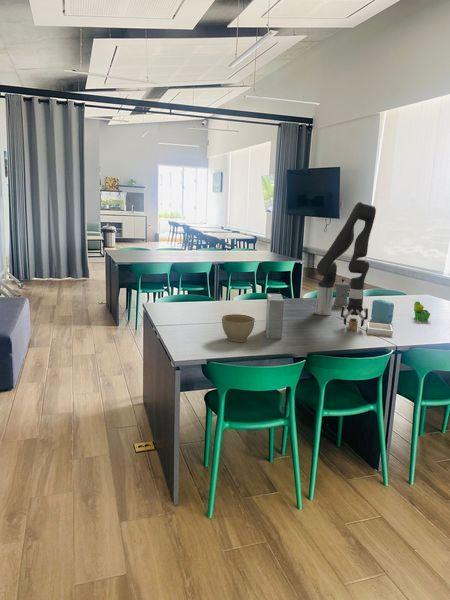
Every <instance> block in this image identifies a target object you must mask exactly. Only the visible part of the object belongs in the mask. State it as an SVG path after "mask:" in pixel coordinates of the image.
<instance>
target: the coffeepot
mask: <svg viewBox="0 0 450 600" xmlns="http://www.w3.org/2000/svg"><path fill="white" fill-rule="evenodd" d="M350 284H351V281H350V282H346V281H345V279H344V278H342V279H341V281H339V282H335V283H334V287H335V293H336V296H335V298H334V301H333V305H334V306H335V307H338V308H339V307H340V308H342V306H345V307H347V306H348V296H347V295H349V291H350Z"/></svg>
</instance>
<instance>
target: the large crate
mask: <svg viewBox="0 0 450 600" xmlns="http://www.w3.org/2000/svg"><path fill="white" fill-rule="evenodd" d="M366 333H367V335H373V336H374V335H375V336H385V337H393V333H394V330H393V325H392V324H390V323H381V322H380V323H378V322H369V321H367V323H366Z"/></svg>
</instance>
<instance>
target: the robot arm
mask: <svg viewBox="0 0 450 600" xmlns="http://www.w3.org/2000/svg"><path fill="white" fill-rule="evenodd" d="M376 209H377V208H376V207H375V206H374V205H372V204H369V203H366V202H363V201H359V202H357V203H356V204H355V205H354V207H353V209H352V211H351V213H350V215H349V216H348V218H347V220H346V221H345V224H344V225H343V227H342V229H341V230H340V231H339V233H338V235H337V236H336V237H335V239H334V240H333V242H332V243H331V246H329V248H328V250H327V251H326V253H325V254H324V255H323V256H322V258H321V259H320V260H319V261H318V263H317V265H316V273H317V274H318V275H319V276H322V277H323V278H321V279H320V280H319V281H318V284H317V294H316V295H317V296H316V297H317V298H316V301H315V302H316V304H315V314H316V315H320V316H330V315H332V307H333V294H334V287H335V285H334V284H336V279H337V278H336V277H337V272H338V269H337V267H338V266H337V263H336V260H337V259H338V258H339V257H340V256H341V257H342V255H343V254H345V253H346V252H347V250H349V248H350V247H351V245H352V244H353V242H354V244H353V245H354V246H353V252H352V253H353V254H352V256H351V259H350V261H349V263H348V271H349V273H352V274H360V276H355V277H351V279H350V282H351V284H350V286H349V289H350V291H349V290H348V293H349V294H348V299H347V302H348V306H347V307H345V306H342V307H341V313H340V318H342V319H343V325H344V326H346V325H347V318H348V317H349V316H350V315H351V316H359V318H360V319H361V320H360V328H362V327H364V324H365V321H367V320H368V318H369V317H368V316H369V308H368V307H365V308H364V307H363V302H364V294H365V293H364V290H365V289H364V286H365V281H366V277H367V274H368V272H369V269H370V264H369V261H367V260H363V259H361V258H365V257H367V255H368V248H369V241H370V236H371V232H372V229H373V225H374V221H375V218H376V213H377V210H376ZM358 220H360V221H362V222H364V226H363V229H362V231H360V233H359V234H358V235H357V236H356V239H355V231H354V230H355V225H356V223H357V222H358ZM354 240H355V241H354ZM346 310H347V312H346V314H345V315H344V311H346ZM362 312H364V314H365V316H364V315H363V314H362Z"/></svg>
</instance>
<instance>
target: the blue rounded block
mask: <svg viewBox="0 0 450 600" xmlns="http://www.w3.org/2000/svg"><path fill="white" fill-rule="evenodd" d="M394 309H395V303H393V302H391V301H386V300H384V299H374V300H372V304H371V313H370V314H371V315H370V319H371V320H373V321H376V322H380V323H381V324H390V323H392V322H393V319H394Z"/></svg>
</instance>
